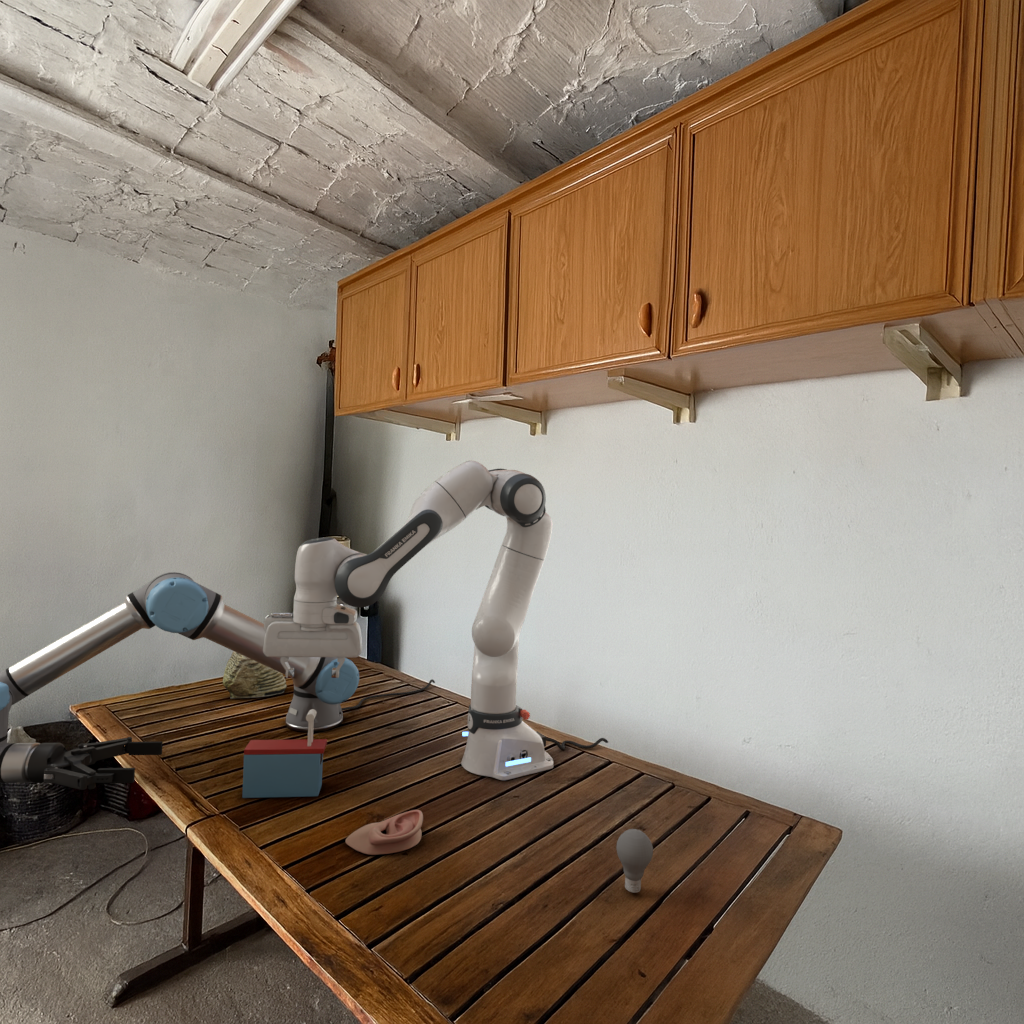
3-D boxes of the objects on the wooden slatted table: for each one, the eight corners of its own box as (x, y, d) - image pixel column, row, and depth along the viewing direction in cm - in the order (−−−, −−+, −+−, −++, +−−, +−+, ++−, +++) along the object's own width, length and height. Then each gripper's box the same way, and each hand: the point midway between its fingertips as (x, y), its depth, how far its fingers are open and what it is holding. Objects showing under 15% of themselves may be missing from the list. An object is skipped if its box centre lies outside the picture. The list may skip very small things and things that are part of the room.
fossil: (218, 695, 195) (220, 647, 195) (278, 685, 208) (279, 640, 207) (228, 703, 189) (230, 653, 188) (289, 692, 201) (290, 645, 201)
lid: (327, 743, 139) (328, 707, 139) (323, 753, 134) (325, 715, 134) (250, 744, 137) (252, 707, 137) (243, 754, 132) (245, 716, 131)
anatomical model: (338, 827, 114) (365, 799, 125) (337, 849, 114) (364, 818, 125) (408, 839, 111) (429, 808, 122) (407, 861, 111) (428, 828, 122)
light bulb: (610, 879, 108) (613, 822, 108) (644, 879, 109) (647, 822, 109) (619, 902, 102) (622, 840, 102) (655, 901, 103) (658, 840, 103)
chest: (321, 784, 139) (323, 744, 139) (318, 796, 134) (319, 754, 134) (249, 786, 137) (250, 745, 137) (242, 798, 132) (243, 755, 132)
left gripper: (69, 756, 141) (171, 754, 144) (-6, 811, 116) (119, 808, 119) (70, 722, 141) (172, 721, 144) (-4, 770, 116) (121, 768, 119)
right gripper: (260, 614, 131) (258, 681, 131) (361, 616, 134) (359, 681, 134) (267, 609, 137) (265, 673, 137) (364, 611, 140) (361, 673, 140)
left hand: (148, 761), depth 131 cm, fingers open, 13 cm apart
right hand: (312, 677), depth 136 cm, fingers open, 8 cm apart
